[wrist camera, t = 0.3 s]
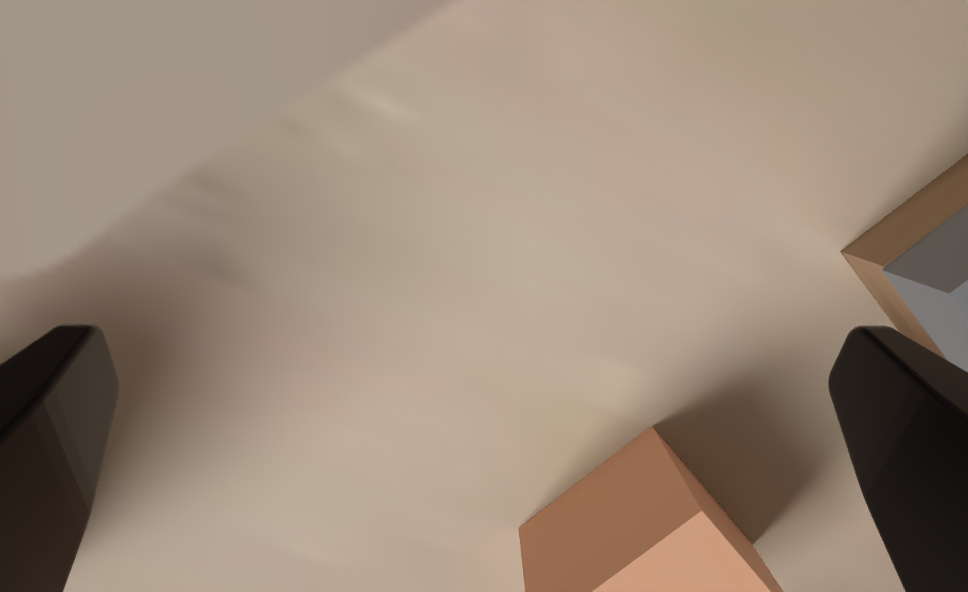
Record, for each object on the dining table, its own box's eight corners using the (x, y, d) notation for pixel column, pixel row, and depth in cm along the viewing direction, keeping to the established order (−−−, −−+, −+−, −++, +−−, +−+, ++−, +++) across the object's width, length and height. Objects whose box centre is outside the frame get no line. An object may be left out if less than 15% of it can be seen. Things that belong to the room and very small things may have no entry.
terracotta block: (751, 543, 25) (827, 657, 20) (620, 638, 26) (659, 772, 20) (651, 425, 24) (702, 510, 19) (518, 527, 25) (530, 637, 19)
